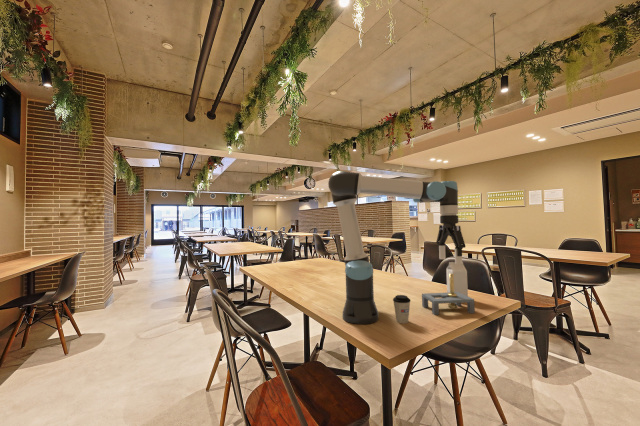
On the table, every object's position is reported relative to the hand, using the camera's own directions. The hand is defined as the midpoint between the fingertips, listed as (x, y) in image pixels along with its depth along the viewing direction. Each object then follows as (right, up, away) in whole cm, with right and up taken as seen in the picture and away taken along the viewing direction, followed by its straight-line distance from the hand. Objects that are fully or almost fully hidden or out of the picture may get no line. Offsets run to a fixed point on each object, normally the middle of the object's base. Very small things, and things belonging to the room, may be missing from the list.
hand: (450, 261), depth 124 cm
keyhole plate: (-2, -22, -1) cm, 22 cm away
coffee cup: (-26, -22, -13) cm, 37 cm away
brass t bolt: (+1, -21, -1) cm, 21 cm away
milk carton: (+10, -22, +14) cm, 28 cm away
